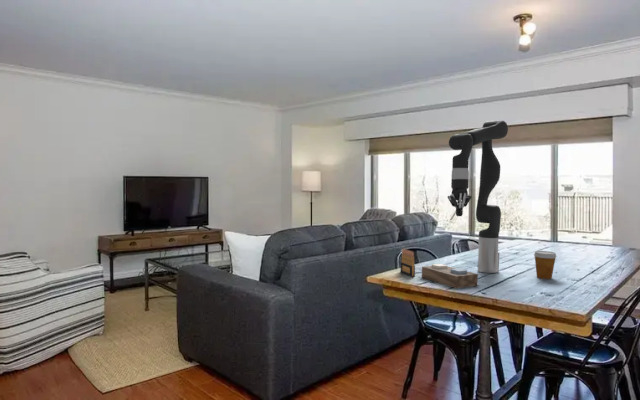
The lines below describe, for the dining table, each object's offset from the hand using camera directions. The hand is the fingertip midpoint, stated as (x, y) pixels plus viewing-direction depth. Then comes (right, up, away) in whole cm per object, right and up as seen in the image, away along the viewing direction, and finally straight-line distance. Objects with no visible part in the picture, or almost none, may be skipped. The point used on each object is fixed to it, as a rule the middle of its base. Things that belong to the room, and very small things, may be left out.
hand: (459, 216), depth 200 cm
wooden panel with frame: (-22, -28, +8) cm, 37 cm away
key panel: (-6, -29, -5) cm, 30 cm away
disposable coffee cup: (+42, -29, +6) cm, 52 cm away
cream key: (-9, -26, 0) cm, 28 cm away
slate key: (-4, -27, -10) cm, 29 cm away
